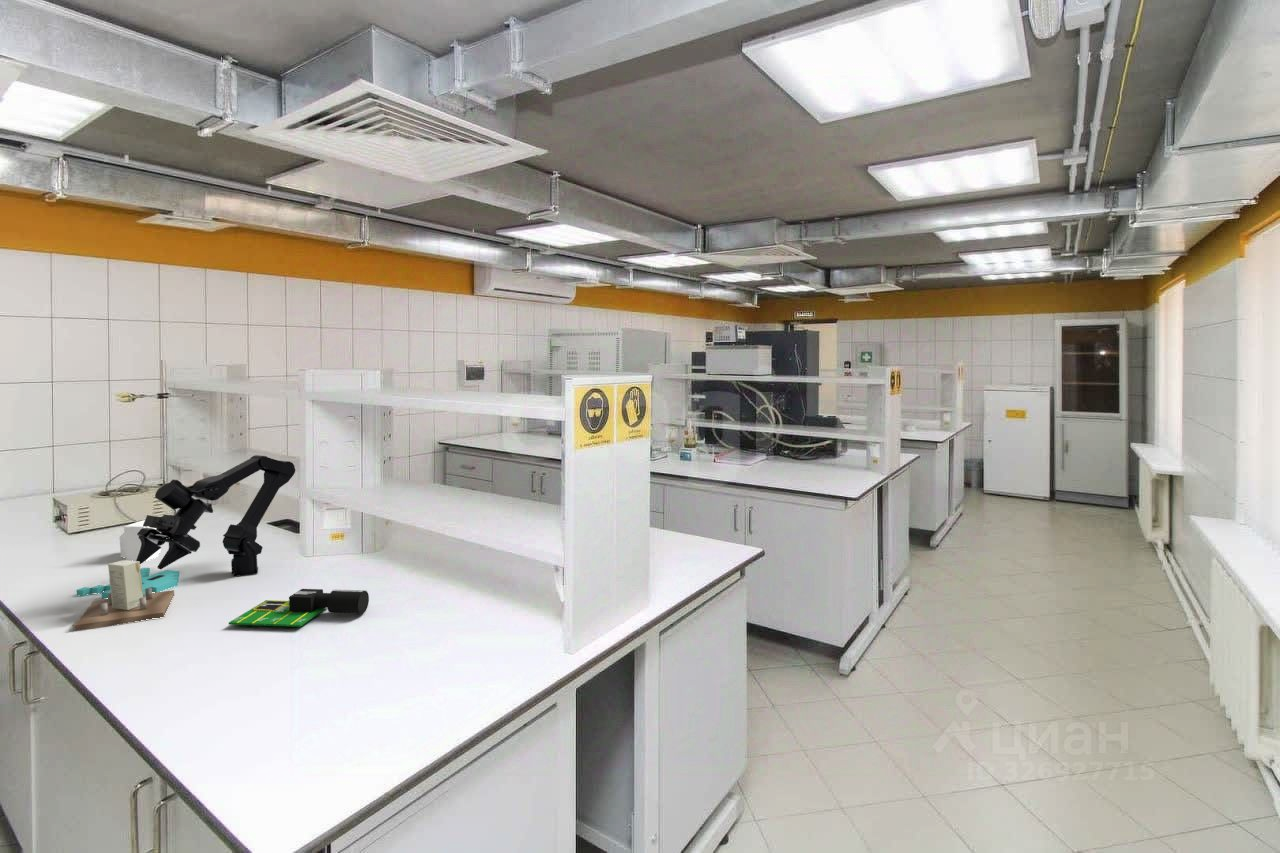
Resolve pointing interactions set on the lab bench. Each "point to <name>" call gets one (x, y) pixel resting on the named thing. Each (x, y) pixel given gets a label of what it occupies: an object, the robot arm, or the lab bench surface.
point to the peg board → (124, 611)
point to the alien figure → (154, 581)
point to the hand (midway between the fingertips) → (147, 566)
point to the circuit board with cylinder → (304, 607)
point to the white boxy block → (133, 541)
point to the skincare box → (125, 584)
